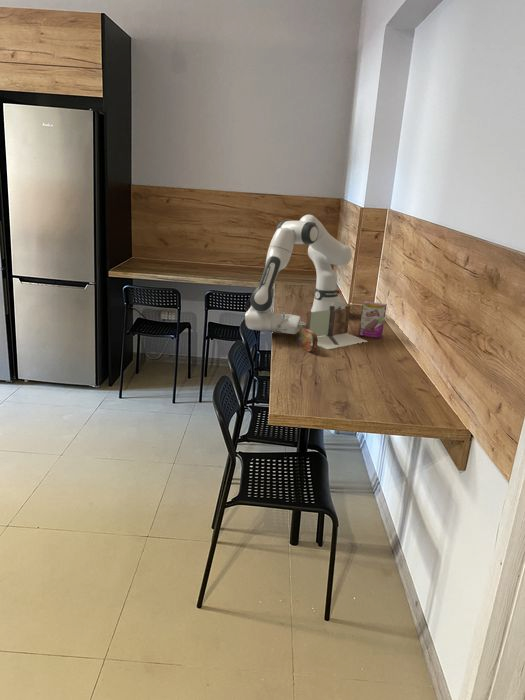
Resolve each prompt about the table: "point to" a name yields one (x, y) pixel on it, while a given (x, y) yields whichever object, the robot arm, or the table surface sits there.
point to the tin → (307, 339)
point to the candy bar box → (372, 319)
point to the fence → (338, 320)
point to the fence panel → (318, 322)
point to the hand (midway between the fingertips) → (308, 326)
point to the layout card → (338, 341)
